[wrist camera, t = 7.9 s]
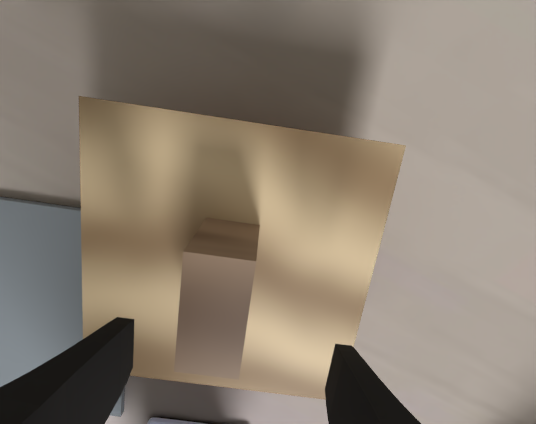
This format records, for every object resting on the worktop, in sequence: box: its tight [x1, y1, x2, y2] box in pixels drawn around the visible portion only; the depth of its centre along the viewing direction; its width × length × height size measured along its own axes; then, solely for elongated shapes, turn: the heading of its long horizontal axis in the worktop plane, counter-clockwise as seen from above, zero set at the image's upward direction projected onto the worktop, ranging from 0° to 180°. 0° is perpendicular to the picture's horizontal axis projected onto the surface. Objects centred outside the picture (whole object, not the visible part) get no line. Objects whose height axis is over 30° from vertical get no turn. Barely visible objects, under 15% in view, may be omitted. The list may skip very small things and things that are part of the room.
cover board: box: [79, 96, 406, 400], centre depth 14 cm, size 14×14×5 cm
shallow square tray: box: [0, 197, 124, 417], centre depth 22 cm, size 16×16×1 cm
